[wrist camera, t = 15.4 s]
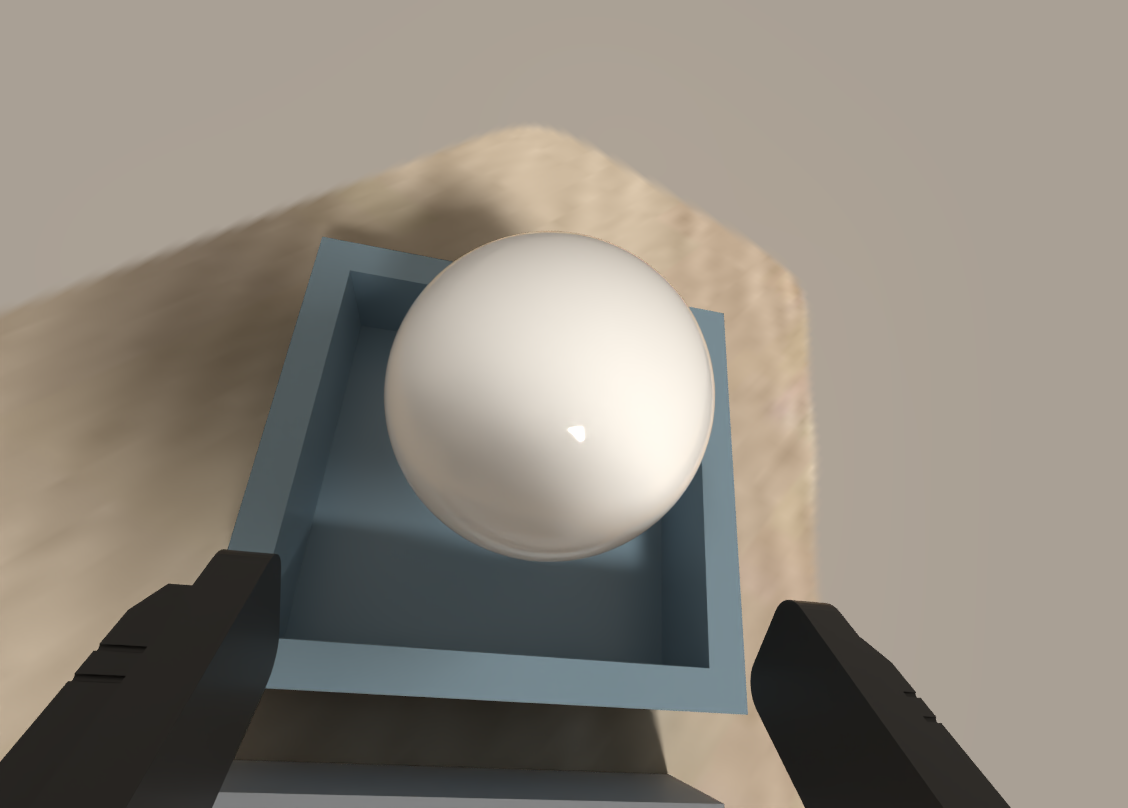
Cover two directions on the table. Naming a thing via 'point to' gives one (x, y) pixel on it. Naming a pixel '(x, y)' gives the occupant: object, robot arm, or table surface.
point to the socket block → (446, 787)
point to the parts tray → (469, 543)
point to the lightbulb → (549, 396)
